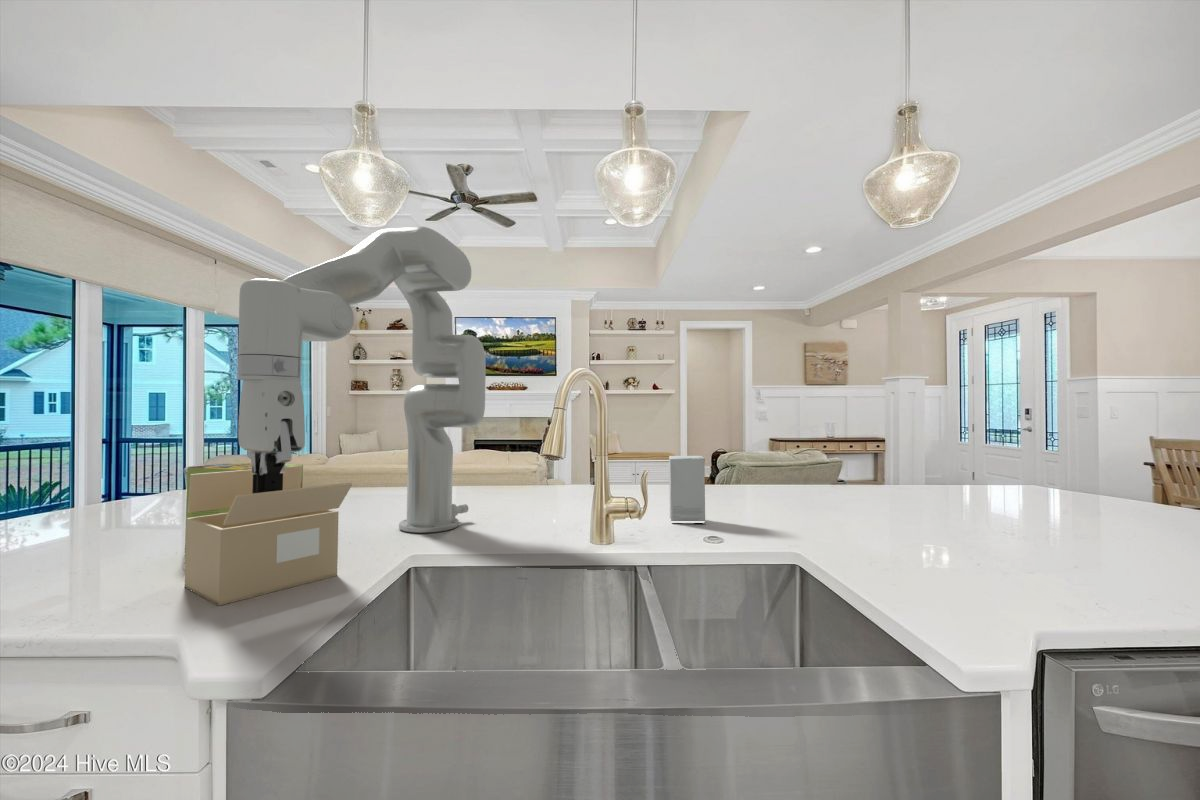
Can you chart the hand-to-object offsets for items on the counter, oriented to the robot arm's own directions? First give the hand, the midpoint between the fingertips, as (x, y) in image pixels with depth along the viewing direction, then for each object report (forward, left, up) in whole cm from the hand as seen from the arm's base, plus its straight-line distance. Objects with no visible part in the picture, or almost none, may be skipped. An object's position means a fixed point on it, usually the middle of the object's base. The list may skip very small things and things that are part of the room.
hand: (267, 502), depth 73 cm
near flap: (-3, +1, 0) cm, 3 cm away
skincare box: (-82, +25, -13) cm, 86 cm away
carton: (-3, -7, -13) cm, 15 cm away
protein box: (-9, -29, -13) cm, 33 cm away
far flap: (-3, -13, 0) cm, 13 cm away
